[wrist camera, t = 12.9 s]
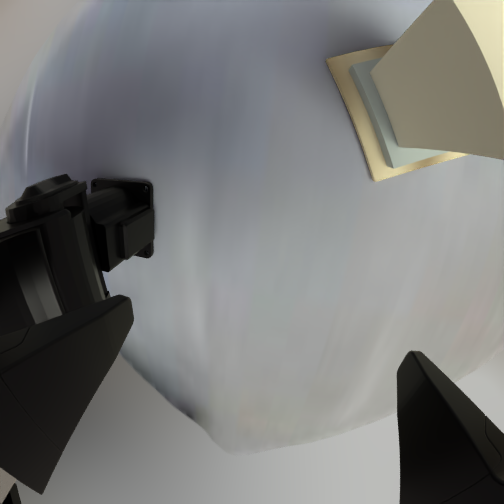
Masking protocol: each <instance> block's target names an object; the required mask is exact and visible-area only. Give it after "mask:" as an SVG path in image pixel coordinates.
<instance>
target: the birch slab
mask: <svg viewBox="0 0 504 504" xmlns="http://www.w3.org/2000/svg"><path fill="white" fill-rule="evenodd" d="M393 45H394V44H393ZM393 45H387V46H381V47H375V48H370V49H365V50H361V51H356V52H352V53H347V54H343V55H339V56H335V57H332V58H328V59H326V63H327V65H328V67H329V69H330V72H331V74H332V76H333V78H334V80H335V82H336V84H337V86H338V89H339V91H340V93H341V95H342V98H343V100H344V102H345V105H346V107H347V109H348V112H349V114H350V117H351V119H352V122H353V124H354V127H355V130H356V132H357V135H358V138H359V140H360V143H361V146H362V149H363V152H364V155H365V158H366V161H367V164H368V167H369V170H370V173H371V176H372V180H373V181H374V182H377V181H380V180H383V179H387V178H390V177H393V176H396V175H400V174H403V173H406V172H410V171H413V170H416V169H420V168H423V167H427V166H430V165H433V164H437V163H440V162H444V161H447V160H451V159H455V158H458V157H462V156H465V155H469V154H466V153H458V152H447V153H443V154H440V155H437V156H433V157H430V158H427V159H424V160H420V161H417V162H414V163H411V164H407V165H404V166H401V167H398V168H395V169H393V168H390V167H387V165H386V161H385V158H384V155H383V152H382V150H381V147H380V144H379V141H378V138H377V136H376V133H375V130H374V128H373V125H372V122H371V120H370V117H369V115H368V112H367V110H366V108H365V105H364V103H363V101H362V98H361V96H360V94H359V92H358V89H357V87H356V85H355V83H354V81H353V79H352V77H351V75H350V73H349V71H348V70H349V69H350V67H351V66H352V65H353V64H357V63H361V62H365V61H369V60H373V59H378V58H383V56H384V55H385V54H386V53H387V52H388V51H389V49H390V48H391V47H392V46H393Z"/></svg>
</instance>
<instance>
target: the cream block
mask: <svg viewBox="0 0 504 504" xmlns="http://www.w3.org/2000/svg"><path fill="white" fill-rule="evenodd" d="M370 75H371V77H372V79H373V81H374V84H375V86H376V88H377V90H378V93H379V95H380V97H381V100H382V102H383V105H384V107H385V110H386V112H387V115H388V117H389V120H390V123H391V125H392V128H393V131H394V134H395V137H396V140H397V143H398V146H399V147H403V148H418V149H430V150H441V151H450V152H458V153H466V154H472V155H479V156H485V157H491V158H497V159H502V160H504V0H434V1H433V2H432V3H431V4H430V5H429V6H428V7H427V8H426V9H425V10H424V11H423V12H422V14H421V15H420V16H419V17H418V18H417V19H416V20H415V21H414V22H413V24H412V25H411V26H410V27H409V28H408V29H407V30H406V31H405V32H404V34H403V35H402V36H401V37H400V38H399V39H398V40H397V42H396V43H395V44H394V45H393V46H392V47H391V48H390V49H389V51H388V52H387V53H386V54H385V55H384V56H383V58H382V59H381V60H380V61H379V62H378V63H377V64H376V66H375V67H374V68H373V69H372V70H371V71H370Z"/></svg>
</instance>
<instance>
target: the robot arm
mask: <svg viewBox="0 0 504 504" xmlns="http://www.w3.org/2000/svg"><path fill="white" fill-rule="evenodd" d="M96 183H97V186H96ZM145 186H146V187H147V188H148V191H146V190H145ZM86 189H87V184H86V181H83V182H78V180H77V181H73V180H71V179H70V177H69V176H68V175H67V174H63V175H59V176H56V177H52V178H49V179H46V180H43V181H40V182H38V183H36V184H33V185H31V186H29V187H27V188H26V189H25V191H24V193H23V194H22V196H21V197H20V198H19V199H17V200H16V201H15V202H14V203H12V204H11V205H9V206H8V207H7V208H6V209H5V211H6V216H7V217H6V218H4V219H1V220H0V504H21V501H20V497H19V493H18V489H17V485H16V484H15V481H16V479H17V480H19V481H20V482H21V483H23V484H25V485H26V486H28V487H29V488H31V489H32V490H34V491H36V492H37V493H39V494H41V495H42V494H43V492H44V490H45V488H46V486H47V483H48V481H49V479H50V477H51V475H52V473H53V471H54V469H55V467H56V465H57V463H58V461H59V459H60V457H61V455H62V452H63V451H64V449H65V447H66V445H67V443H68V441H69V439H70V437H71V435H72V434H73V432H74V430H75V428H76V426H77V424H78V422H79V421H80V419H81V417H82V415H83V413H84V412H85V410H86V408H87V406H88V404H89V403H90V401H91V399H92V398H93V396H94V394H95V393H96V391H97V389H98V387H99V386H100V384H101V382H102V381H103V379H104V377H105V376H106V374H107V373H108V371H109V369H110V367H111V366H112V364H113V363H114V361H115V359H116V357H117V355H118V353H119V351H120V349H121V347H122V345H123V343H124V341H125V339H126V337H127V335H128V333H129V331H130V329H131V327H132V324H133V321H134V315H133V309H132V302H131V299H130V298H129V297H126V296H123V295H116V296H113V297H110V293H109V291H107V288H106V284H105V281H104V277H103V273H102V271H105V272H109V271H111V270H112V269H113V268H114V267H116V266H117V265H118V264H120V263H121V262H122V261H123V260H128V259H129V258H131V257H132V256H133V255H134V256H139V257H143V258H150V257H151V256H152V255H153V240H154V210H153V186H152V184H151V183H149V182H141V181H129V180H115V179H100V178H97V179H93V180H92V182H91V193H90V194H88V195H86ZM146 250H147V251H148V252H149V254H148V253H147V252H146ZM397 417H398V430H399V446H400V504H504V433H502V432H501V431H500V430H499V429H498V428H497V426H495V425H494V423H493V422H492V421H491V420H490V419H489V418H488V417H487V416H485V414H484V413H483V412H482V411H481V410H480V409H479V408H478V407H477V406H476V405H475V404H474V403H473V402H472V401H471V400H470V399H469V398H468V397H467V396H466V395H465V394H464V393H463V392H462V391H461V390H460V389H459V388H458V387H457V386H456V385H455V384H454V383H453V382H452V381H451V380H450V379H449V378H448V377H447V376H446V375H445V374H444V373H443V372H442V371H441V370H440V369H439V368H438V367H437V366H436V365H435V364H434V363H433V362H432V361H430V360H429V359H428V358H427V357H426V356H425V355H424V354H423V353H422V352H420V351H409V352H408V353H407V355H406V356H405V358H404V360H403V361H402V363H401V365H400V366H399V368H398V371H397Z"/></svg>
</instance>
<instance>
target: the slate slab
mask: <svg viewBox="0 0 504 504" xmlns="http://www.w3.org/2000/svg"><path fill="white" fill-rule="evenodd" d="M381 59H382V58H378V59H373V60H369V61H365V62H361V63H357V64H353V65H352V66H351V67H350V69H349V70H348V71H349V73H350V75H351V77H352V79H353V81H354V83H355V85H356V87H357V89H358V92H359V94H360V96H361V98H362V101H363V103H364V105H365V108H366V110H367V112H368V115H369V117H370V120H371V122H372V125H373V128H374V130H375V133H376V136H377V138H378V141H379V144H380V147H381V150H382V152H383V155H384V158H385V161H386V165H387V167H390V168H393V169H395V168H398V167H401V166H404V165H407V164H411V163H414V162H417V161H420V160H424V159H427V158H430V157H433V156H437V155H440V154H443V153H447V152H450V151H441V150H430V149H418V148H403V147H399V146H398V143H397V140H396V137H395V134H394V131H393V128H392V125H391V123H390V120H389V117H388V115H387V112H386V110H385V107H384V105H383V102H382V100H381V97H380V95H379V93H378V90H377V88H376V86H375V84H374V81H373V79H372V77H371V75H370V71H371V70H372V69H373V68H374V67H375V66H376V64H377V63H378V62H379V61H380V60H381Z"/></svg>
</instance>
